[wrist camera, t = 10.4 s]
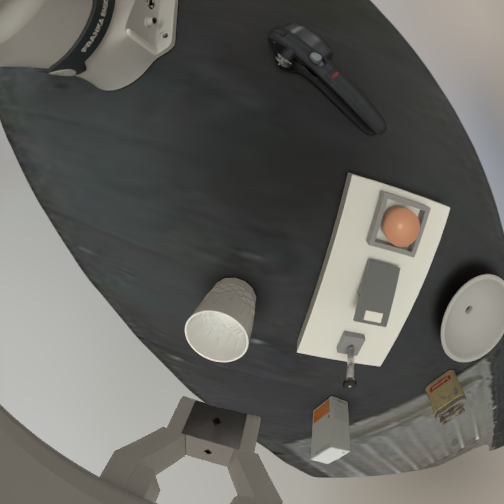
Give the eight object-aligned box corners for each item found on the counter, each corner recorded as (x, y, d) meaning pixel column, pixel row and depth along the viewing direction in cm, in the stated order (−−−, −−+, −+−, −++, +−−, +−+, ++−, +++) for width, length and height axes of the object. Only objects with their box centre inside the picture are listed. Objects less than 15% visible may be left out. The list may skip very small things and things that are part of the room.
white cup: (200, 280, 41) (173, 317, 32) (249, 266, 39) (232, 304, 30) (221, 323, 44) (201, 365, 34) (268, 313, 41) (258, 357, 32)
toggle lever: (347, 343, 36) (345, 386, 31) (359, 345, 35) (358, 388, 31) (343, 349, 37) (340, 391, 32) (354, 351, 37) (352, 393, 32)
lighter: (451, 366, 40) (468, 403, 31) (456, 374, 40) (472, 409, 31) (422, 387, 43) (434, 425, 33) (429, 394, 43) (441, 431, 34)
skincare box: (330, 394, 46) (332, 446, 35) (347, 400, 46) (351, 451, 35) (311, 410, 48) (309, 460, 37) (328, 416, 48) (328, 464, 37)
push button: (386, 200, 30) (392, 204, 28) (417, 210, 29) (424, 215, 27) (375, 235, 31) (380, 241, 29) (406, 243, 31) (412, 250, 29)
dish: (415, 296, 37) (426, 314, 32) (483, 241, 31) (500, 253, 27) (446, 358, 39) (455, 376, 35) (503, 313, 34) (516, 328, 30)
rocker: (367, 260, 33) (370, 259, 32) (397, 267, 32) (400, 267, 31) (352, 319, 33) (355, 321, 32) (383, 325, 32) (386, 327, 31)
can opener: (257, 53, 29) (250, 38, 24) (296, 22, 26) (295, 4, 21) (356, 152, 32) (366, 153, 26) (394, 120, 29) (409, 116, 24)
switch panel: (347, 172, 32) (354, 175, 28) (440, 202, 31) (455, 210, 27) (297, 339, 42) (296, 359, 38) (376, 354, 41) (381, 373, 37)
